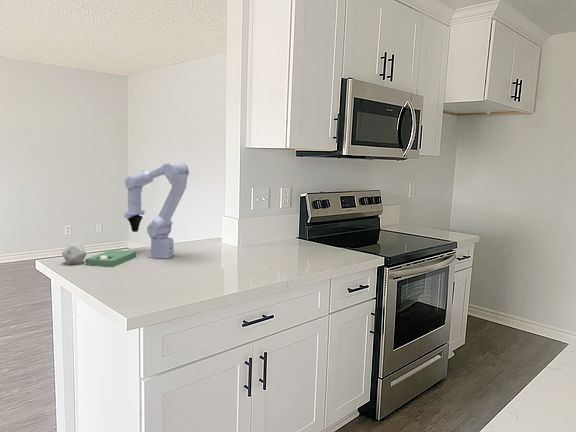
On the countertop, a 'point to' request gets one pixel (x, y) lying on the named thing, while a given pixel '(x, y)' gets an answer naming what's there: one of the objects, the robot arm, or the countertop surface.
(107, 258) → the ball
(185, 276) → the countertop surface
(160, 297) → the countertop surface
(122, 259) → the green
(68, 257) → the die
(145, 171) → the robot arm
